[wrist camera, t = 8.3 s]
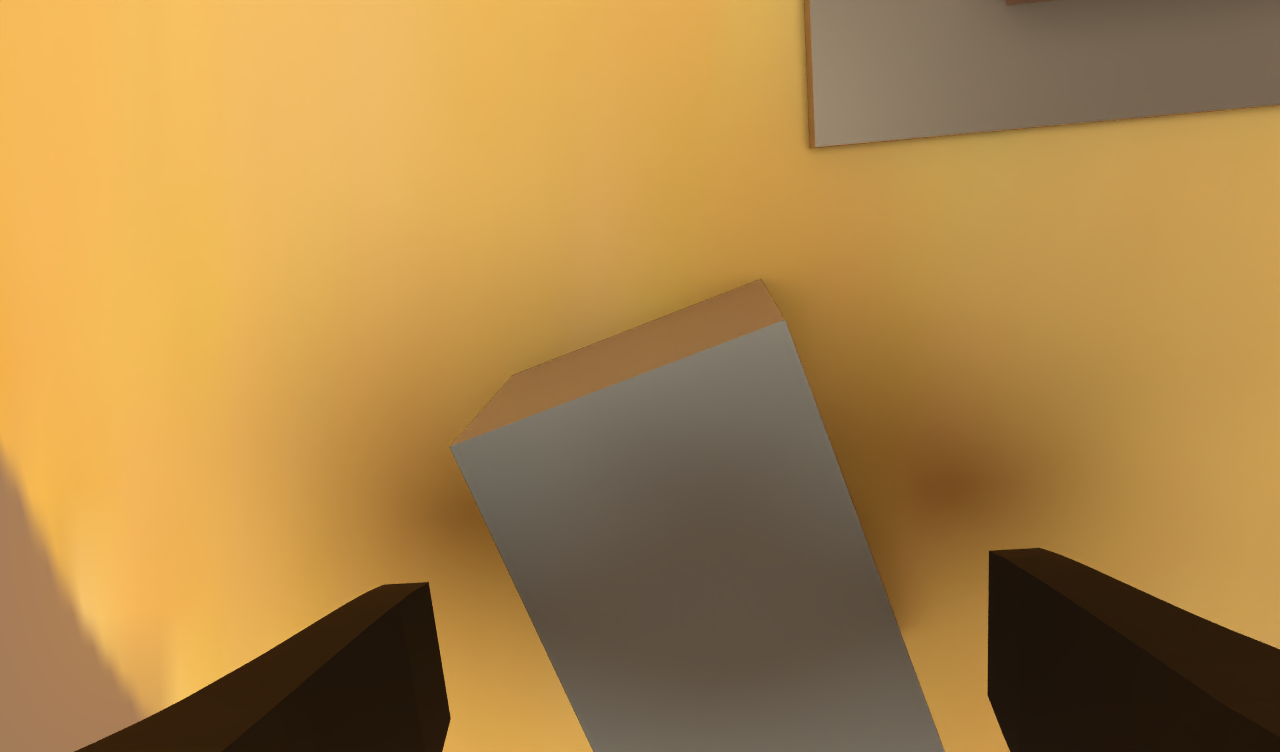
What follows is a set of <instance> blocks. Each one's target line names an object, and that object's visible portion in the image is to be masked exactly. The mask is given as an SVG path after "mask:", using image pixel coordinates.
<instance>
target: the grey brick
mask: <svg viewBox="0 0 1280 752" xmlns="http://www.w3.org/2000/svg"><path fill="white" fill-rule="evenodd" d="M450 449H451V451H452V453H453V455H454V457H455V459H456V462H457V464H458V466H459V468H460V470H461V472H462V474H463V476H464V478H465V481H466V483H467V485H468V487H469V489H470V491H471V493H472V495H473V498H474V500H475V502H476V504H477V506H478V508H479V510H480V512H481V515H482V517H483V519H484V521H485V523H486V525H487V527H488V529H489V531H490V534H491V536H492V538H493V540H494V542H495V544H496V546H497V548H498V551H499V553H500V555H501V557H502V559H503V561H504V563H505V565H506V568H507V570H508V572H509V574H510V576H511V578H512V580H513V582H514V584H515V587H516V589H517V591H518V593H519V595H520V597H521V599H522V601H523V604H524V606H525V608H526V610H527V612H528V614H529V616H530V618H531V621H532V623H533V625H534V627H535V629H536V631H537V633H538V635H539V637H540V640H541V642H542V644H543V646H544V648H545V650H546V652H547V654H548V657H549V659H550V661H551V663H552V665H553V667H554V669H555V671H556V674H557V676H558V678H559V680H560V682H561V684H562V686H563V688H564V690H565V693H566V695H567V697H568V699H569V701H570V703H571V705H572V707H573V710H574V712H575V714H576V716H577V718H578V720H579V722H580V724H581V727H582V729H583V731H584V733H585V735H586V737H587V739H588V741H589V743H590V746H591V748H592V750H593V752H945V751H944V748H943V746H942V743H941V740H940V738H939V735H938V732H937V729H936V727H935V724H934V721H933V719H932V716H931V713H930V710H929V708H928V705H927V702H926V700H925V697H924V694H923V692H922V689H921V686H920V683H919V681H918V678H917V675H916V673H915V670H914V667H913V665H912V662H911V659H910V656H909V654H908V651H907V648H906V646H905V643H904V640H903V637H902V635H901V632H900V629H899V627H898V624H897V621H896V619H895V616H894V613H893V610H892V608H891V605H890V602H889V600H888V597H887V594H886V591H885V589H884V586H883V583H882V581H881V578H880V575H879V573H878V570H877V567H876V564H875V562H874V559H873V556H872V554H871V551H870V548H869V545H868V543H867V540H866V537H865V535H864V532H863V529H862V527H861V524H860V521H859V518H858V516H857V513H856V510H855V508H854V505H853V502H852V499H851V497H850V494H849V491H848V489H847V486H846V483H845V481H844V478H843V475H842V472H841V470H840V467H839V464H838V462H837V459H836V456H835V453H834V451H833V448H832V445H831V443H830V440H829V437H828V435H827V432H826V429H825V426H824V424H823V421H822V418H821V416H820V413H819V410H818V407H817V405H816V402H815V399H814V397H813V394H812V391H811V389H810V386H809V383H808V380H807V378H806V375H805V372H804V370H803V367H802V364H801V361H800V359H799V356H798V353H797V351H796V348H795V345H794V343H793V340H792V337H791V334H790V332H789V329H788V326H787V324H786V321H785V319H784V317H783V315H782V314H781V312H780V310H779V309H778V307H777V305H776V304H775V302H774V300H773V299H772V297H771V295H770V294H769V292H768V290H767V289H766V287H765V285H764V284H763V282H762V280H761V279H759V280H757V281H754V282H752V283H749V284H746V285H744V286H741V287H739V288H736V289H734V290H731V291H728V292H726V293H723V294H721V295H718V296H715V297H713V298H710V299H708V300H705V301H703V302H700V303H697V304H695V305H692V306H690V307H687V308H685V309H682V310H679V311H677V312H674V313H672V314H669V315H667V316H664V317H661V318H659V319H656V320H654V321H651V322H649V323H646V324H643V325H641V326H638V327H636V328H633V329H630V330H628V331H625V332H623V333H620V334H618V335H615V336H612V337H610V338H607V339H605V340H602V341H600V342H597V343H594V344H592V345H589V346H587V347H584V348H582V349H579V350H576V351H574V352H571V353H569V354H566V355H564V356H561V357H558V358H556V359H553V360H551V361H548V362H545V363H543V364H540V365H538V366H535V367H533V368H530V369H527V370H525V371H522V372H520V373H517V374H515V375H512V376H511V378H510V379H509V380H508V381H507V382H506V383H505V384H504V385H503V387H502V388H501V389H500V390H499V391H498V392H497V393H496V395H495V396H494V397H493V398H492V399H491V400H490V401H489V403H488V404H487V405H486V406H485V407H484V408H483V409H482V410H481V412H480V413H479V414H478V415H477V416H476V417H475V418H474V420H473V421H472V422H471V423H470V424H469V425H468V426H467V427H466V429H465V430H464V431H463V432H462V433H461V434H460V435H459V437H458V438H457V439H456V440H455V441H454V442H453V443H452V444H451V446H450Z"/></svg>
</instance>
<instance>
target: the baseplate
mask: <svg viewBox="0 0 1280 752" xmlns="http://www.w3.org/2000/svg"><path fill="white" fill-rule="evenodd" d="M804 12H805V37H806V63H807V88H808V114H809V139H810V148H816V147H827V146H838V145H849V144H860V143H871V142H882V141H893V140H904V139H915V138H925V137H936V136H947V135H958V134H969V133H980V132H991V131H1002V130H1013V129H1024V128H1035V127H1045V126H1056V125H1067V124H1078V123H1089V122H1100V121H1111V120H1122V119H1133V118H1144V117H1155V116H1165V115H1176V114H1187V113H1198V112H1209V111H1220V110H1231V109H1242V108H1253V107H1264V106H1275V105H1280V0H1057V1H1047V2H1037V3H1028V4H1018V5H1008V6H1006V0H804Z"/></svg>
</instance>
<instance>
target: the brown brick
mask: <svg viewBox="0 0 1280 752" xmlns="http://www.w3.org/2000/svg"><path fill="white" fill-rule="evenodd" d="M1047 1H1057V0H1006V6H1008V5H1018V4H1028V3H1037V2H1047Z"/></svg>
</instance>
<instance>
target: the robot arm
mask: <svg viewBox="0 0 1280 752" xmlns="http://www.w3.org/2000/svg"><path fill="white" fill-rule="evenodd" d="M988 697H989V700H990V702H991V705H992V708H993V710H994V713H995V715H996V718H997V720H998V723H999V725H1000V728H1001V730H1002V733H1003V735H1004V738H1005V740H1006V743H1007V745H1008V747H1009V750H1010V752H1280V649H1277V648H1275V647H1272V646H1270V645H1267V644H1265V643H1262V642H1260V641H1257V640H1255V639H1252V638H1250V637H1247V636H1245V635H1242V634H1239V633H1237V632H1234V631H1232V630H1229V629H1227V628H1225V627H1222V626H1220V625H1218V624H1215V623H1213V622H1211V621H1208V620H1206V619H1203V618H1201V617H1199V616H1196V615H1194V614H1192V613H1190V612H1187V611H1185V610H1183V609H1181V608H1178V607H1176V606H1174V605H1172V604H1169V603H1167V602H1165V601H1163V600H1160V599H1158V598H1156V597H1154V596H1151V595H1149V594H1147V593H1145V592H1143V591H1141V590H1138V589H1136V588H1134V587H1132V586H1130V585H1127V584H1125V583H1123V582H1121V581H1119V580H1116V579H1114V578H1112V577H1110V576H1108V575H1106V574H1103V573H1101V572H1099V571H1097V570H1094V569H1092V568H1090V567H1088V566H1085V565H1083V564H1081V563H1079V562H1076V561H1074V560H1072V559H1069V558H1067V557H1064V556H1062V555H1059V554H1056V553H1054V552H1051V551H1048V550H1044V549H1041V548H1031V549H1013V550H995V551H989V608H988ZM450 719H451V718H450V712H449V706H448V700H447V693H446V687H445V681H444V675H443V669H442V662H441V656H440V650H439V644H438V638H437V631H436V625H435V619H434V613H433V607H432V600H431V594H430V588H429V582H423V583H406V584H388V585H382V586H380V587H377V588H375V589H373V590H371V591H369V592H367V593H365V594H363V595H361V596H359V597H357V598H355V599H354V600H352V601H350V602H348V603H347V604H345V605H343V606H342V607H340V608H338V609H337V610H335V611H333V612H332V613H330V614H328V615H327V616H325V617H323V618H322V619H320V620H318V621H317V622H315V623H314V624H312V625H310V626H309V627H307V628H305V629H304V630H302V631H300V632H299V633H297V634H295V635H294V636H292V637H291V638H289V639H287V640H286V641H284V642H282V643H281V644H279V645H277V646H276V647H274V648H273V649H271V650H269V651H268V652H266V653H264V654H263V655H261V656H259V657H257V658H256V659H254V660H252V661H250V662H249V663H247V664H245V665H243V666H242V667H240V668H238V669H236V670H235V671H233V672H231V673H229V674H227V675H226V676H224V677H222V678H220V679H219V680H217V681H215V682H213V683H212V684H210V685H208V686H206V687H204V688H203V689H201V690H199V691H197V692H196V693H194V694H192V695H190V696H189V697H187V698H185V699H183V700H181V701H179V702H177V703H175V704H173V705H171V706H170V707H168V708H166V709H164V710H162V711H160V712H158V713H156V714H154V715H152V716H150V717H148V718H146V719H144V720H142V721H140V722H138V723H136V724H133V725H132V726H129V727H127V728H125V729H123V730H121V731H118V732H116V733H114V734H112V735H110V736H108V737H106V738H103V739H102V740H99V741H97V742H95V743H93V744H90V745H88V746H86V747H84V748H81V749H79V750H77V751H75V752H442V750H443V746H444V742H445V738H446V735H447V731H448V727H449V723H450Z"/></svg>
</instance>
